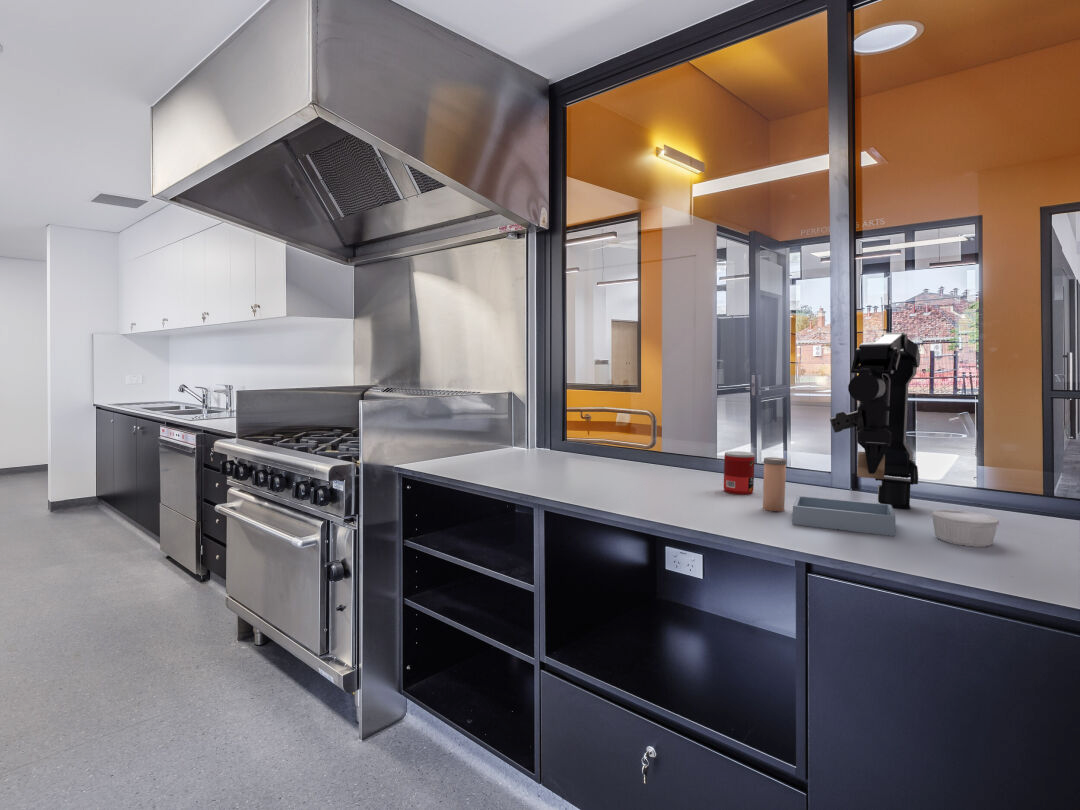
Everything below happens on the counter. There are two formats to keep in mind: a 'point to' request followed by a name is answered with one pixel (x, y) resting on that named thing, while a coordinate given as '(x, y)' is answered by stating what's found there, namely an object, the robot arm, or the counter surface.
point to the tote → (844, 515)
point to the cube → (863, 468)
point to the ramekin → (964, 527)
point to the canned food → (738, 472)
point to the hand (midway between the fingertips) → (871, 471)
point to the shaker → (774, 484)
